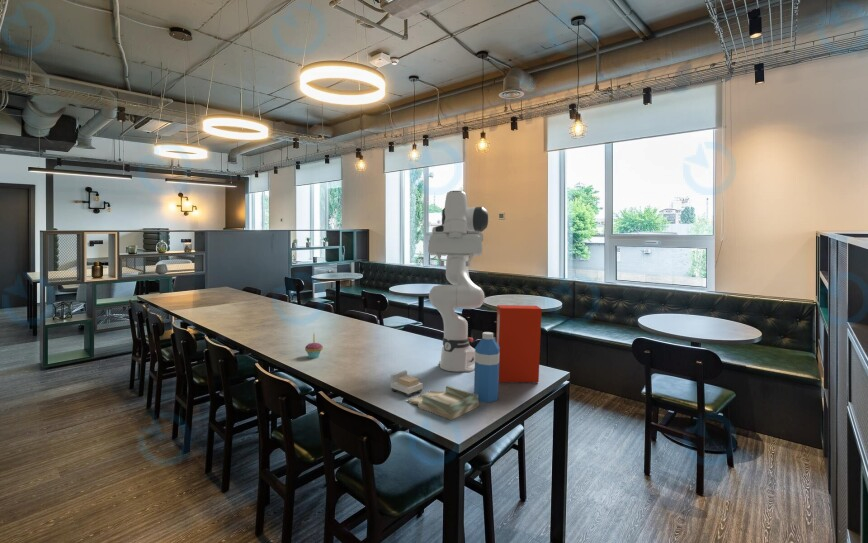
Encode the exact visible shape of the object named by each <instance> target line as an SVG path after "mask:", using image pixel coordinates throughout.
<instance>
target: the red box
mask: <svg viewBox="0 0 868 543" xmlns="http://www.w3.org/2000/svg"><path fill="white" fill-rule="evenodd" d="M542 311H543V310H542V308H541V307H539V306H538V305H510V304H509V305H508V304H497V306H496V334H495V336H496V338H495V341H496V343H497V344H498V346H499V347H500V357H499V382H540V381H539V377H540V354H541V336H542V334H541V333H542V332H541V330H542Z"/></svg>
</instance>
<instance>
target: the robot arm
mask: <svg viewBox="0 0 868 543" xmlns="http://www.w3.org/2000/svg"><path fill="white" fill-rule="evenodd" d="M441 215H442V216H441V224H440V225H436V226H433V227H432V230H431V231H432V232H431V235H430V236H429V239H428V240H429V241H428V246H427V253H428V254H429V255H431V256H434V255H435V256H436V257H437V259H438V261H439V266H440V267H445V278H446V280H447V281H448V283H450V284H440V285H433V287H431V289H430V291H429V293H428V300H429V302H430V304H431V306H432V307H434V308H435V309H436V310H437V311H438V312H439V313H440V316H441V318H442V323H443V337H442V345H443V346H442V348H441V352H440V353H441V355H440V360H439V363H438V364H439V368H440V369H442V370H444V371H448V372H457V373H459V372H467V373H470V372H473V371H475V348H474V347H472V346H471V345H470V343H473V342H474V338H473V337H468V334H469V333H468V332H469V331H468V329H469V328H468V327H469V326H468V325H469V324H468V321H467V320H466V318H464V317H463V316H462V315H459V314H457V313H456V312H455V310H457V309H459V310H460V309H461V310H463V309H464V310H472V309H478V308H481V306H483V304H484V302H485V300H486V299H485V298H486V297H485V296H486V295H485V292H484V290H483V289H482V288H481V287H480V286H479V285H477V284H476V283H474V282H473V281H472V280H471V278H470V273H469V268H470V262H471V261H472V259H473V256H477V257H478V256H481V255H482V254H483V244H482V243H483V241H484V234H483V233H482V232H483V231H485V230H486V229H487V228H488V225H489V223H490V222H489V220H490V217H489V213H488V210H487V209H486V208H484V206H468V199H467V194H466V192H465V191H462V190H451V191H448V192H447V193H446V196H445V202H444V208H443V209H442V210H441ZM442 256H446V264H445V260H442Z"/></svg>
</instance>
